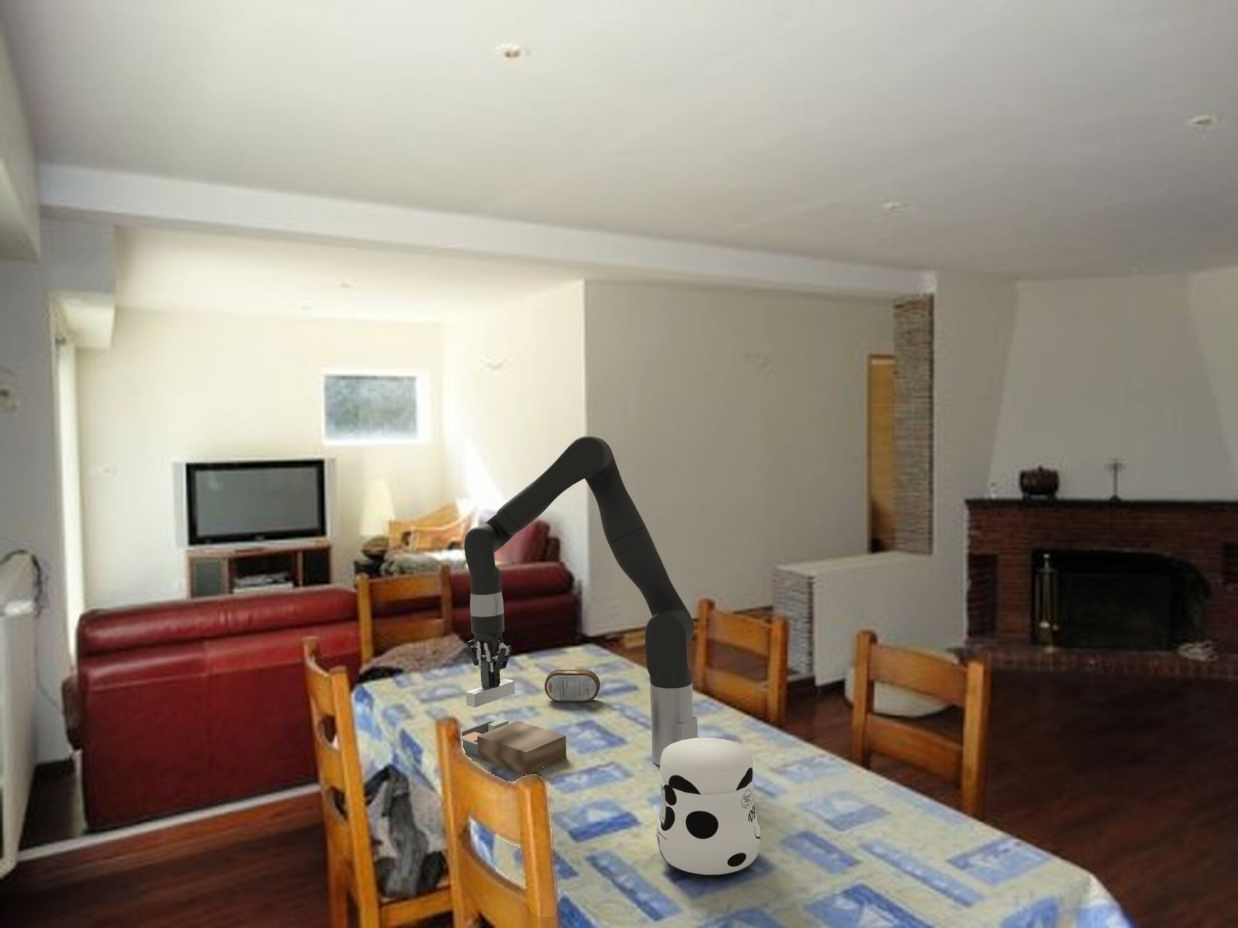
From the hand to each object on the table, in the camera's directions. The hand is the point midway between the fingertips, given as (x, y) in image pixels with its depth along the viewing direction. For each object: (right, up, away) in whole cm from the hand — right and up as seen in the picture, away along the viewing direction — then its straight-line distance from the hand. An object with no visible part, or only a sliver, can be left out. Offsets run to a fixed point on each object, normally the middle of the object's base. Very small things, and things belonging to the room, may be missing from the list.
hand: (490, 685), depth 192 cm
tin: (+17, -13, +32) cm, 39 cm away
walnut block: (+8, -15, -6) cm, 18 cm away
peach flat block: (-4, -12, +1) cm, 13 cm away
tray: (-2, -14, +3) cm, 15 cm away
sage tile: (+2, -12, +2) cm, 12 cm away
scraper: (0, -3, 0) cm, 3 cm away
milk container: (+45, -16, -52) cm, 70 cm away
